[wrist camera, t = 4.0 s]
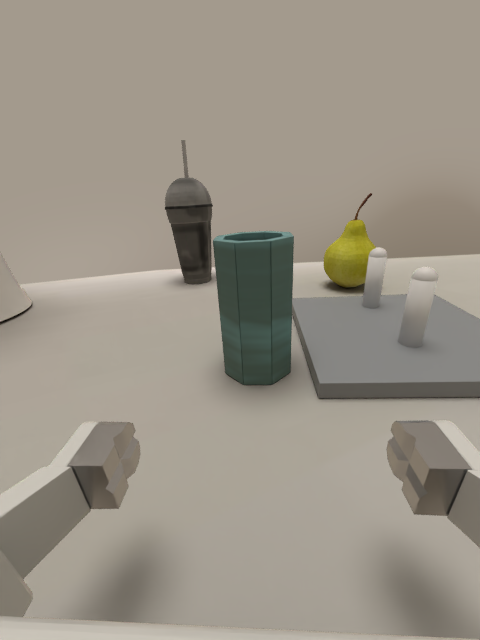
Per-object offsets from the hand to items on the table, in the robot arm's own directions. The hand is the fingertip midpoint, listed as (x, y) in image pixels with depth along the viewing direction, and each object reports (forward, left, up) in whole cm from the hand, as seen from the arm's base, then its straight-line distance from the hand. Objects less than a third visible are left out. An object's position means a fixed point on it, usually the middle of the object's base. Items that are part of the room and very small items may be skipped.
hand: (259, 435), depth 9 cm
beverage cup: (-10, +38, -6) cm, 40 cm away
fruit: (+13, +32, -6) cm, 35 cm away
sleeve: (0, +12, -5) cm, 13 cm away
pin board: (+12, +16, -5) cm, 21 cm away
